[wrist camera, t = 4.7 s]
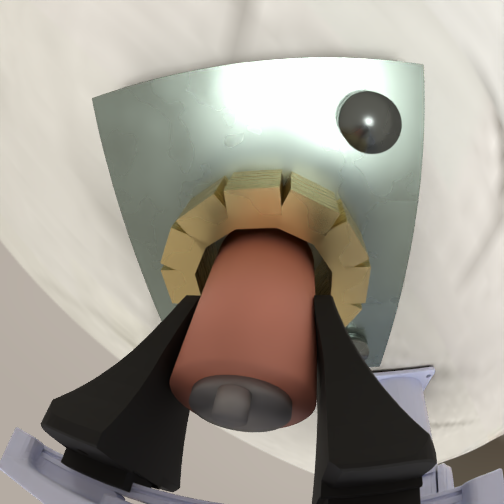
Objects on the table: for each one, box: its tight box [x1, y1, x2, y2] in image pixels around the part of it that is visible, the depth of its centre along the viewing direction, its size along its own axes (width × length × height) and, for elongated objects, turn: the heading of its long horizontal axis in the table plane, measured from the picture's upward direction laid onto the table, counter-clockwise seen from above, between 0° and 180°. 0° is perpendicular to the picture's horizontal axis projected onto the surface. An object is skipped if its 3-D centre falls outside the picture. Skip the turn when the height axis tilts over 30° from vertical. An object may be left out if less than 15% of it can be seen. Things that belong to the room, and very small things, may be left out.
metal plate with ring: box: [92, 58, 424, 367], centre depth 15 cm, size 18×14×5 cm
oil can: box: [169, 228, 317, 432], centre depth 11 cm, size 4×4×8 cm
